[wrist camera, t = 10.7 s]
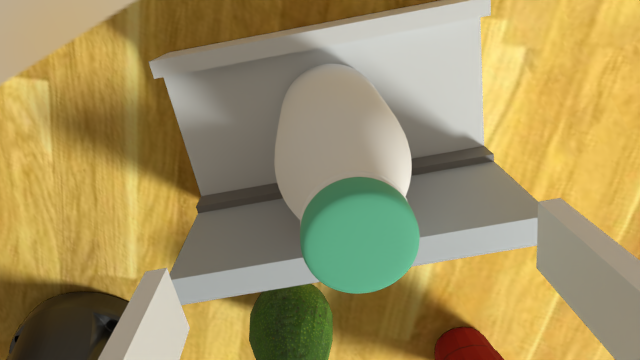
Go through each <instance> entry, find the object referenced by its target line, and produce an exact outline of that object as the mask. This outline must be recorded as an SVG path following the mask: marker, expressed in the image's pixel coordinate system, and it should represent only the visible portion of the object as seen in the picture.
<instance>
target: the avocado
mask: <svg viewBox="0 0 640 360" xmlns="http://www.w3.org/2000/svg"><path fill="white" fill-rule="evenodd" d="M332 332H333V315H332V312H331V309H330V306H329V304H328V302H327V300H326V298H325V296H324V295H323V293H322V292H321V291H320V290H319V289H318V288H316V287H315V286H314V285H312V284H304V285H298V286H292V287H286V288H280V289H274V290H268V291H263V292H262V293H261V295H260V296H259V298H258V299H257V301H256V302H255V304H254V307H253V309H252V311H251V314H250V333H249V341H250V344H251V347H252V350H253V353H254V356H255V358H256V360H328V358H329V353H330V349H331V345H332Z"/></svg>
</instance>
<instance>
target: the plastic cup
mask: <svg viewBox="0 0 640 360" xmlns="http://www.w3.org/2000/svg"><path fill="white" fill-rule="evenodd" d="M435 359H436V360H504V359H503V358H502V356H501V355H500V354H499V353H498V352H497V351H496V350H495V349H494V348H493V347H492V346H491V344H490V343H489V342H488V340H487V339H486V338H485V337H484V335H482V334H481V333H480V332H479V331H477V330H475V329H473V328H467V327H460V328H455V329H451V330H450V331H448V332H446V333H444V334H443V335H442V336H441V337H440V338H439V339H438V341H437V343H436V346H435Z"/></svg>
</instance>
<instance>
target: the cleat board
mask: <svg viewBox="0 0 640 360" xmlns="http://www.w3.org/2000/svg"><path fill="white" fill-rule="evenodd" d="M489 15H491V2H490V0H440V1H435V2H429V3H424V4H419V5H414V6H409V7H403V8H398V9H393V10H388V11H382V12H377V13H372V14H367V15H362V16H356V17H351V18H346V19H341V20H335V21H330V22H325V23H320V24H315V25H309V26H304V27H299V28H294V29H288V30H283V31H278V32H273V33H268V34H262V35H257V36H252V37H247V38H241V39H236V40H231V41H226V42H221V43H215V44H210V45H205V46H200V47H194V48H189V49H184V50H179V51H174V52H168V53H166V54H164V55H162V56H160V57H158V58H156V59H154V60H152V61H149V65H150V68H151V71H152V74H153V77H154V79H156V78H162V77H164V81H165V84H166V87H167V90H168V93H169V96H170V99H171V103H172V106H173V109H174V112H175V115H176V118H177V121H178V124H179V128H180V131H181V134H182V137H183V140H184V143H185V146H186V149H187V153H188V156H189V159H190V162H191V165H192V168H193V171H194V175H195V178H196V181H197V184H198V187H199V190H200V193H201V198H200V200H199V202H198V204H197V206H196V208H197V211H198V215H197V217H196V219H195V221H194V223H193V225H192V228H191V230H190V232H189V234H188V236H187V238H186V240H185V243H184V245H183V247H182V249H181V251H180V253H179V255H178V257H177V260H176V262H175V264H174V266H173V268H172V270H171V272H170V274H169V275H170V278H171V280H172V283H173V285H174V288H175V291H176V293H177V296H178V299H179V301H180V304H181V305H185V304H191V303H197V302H203V301H209V300H215V299H221V298H227V297H233V296H239V295H244V294H250V293H256V292H262V291H268V290H274V289H280V288H286V287H292V286H298V285H304V284H310V283H316V282H320V281H319V280H318V279H317V278H316V277H315V276H314V275H313V274H312V273H311V271H310V270H309V268H308V267H307V265H306V263H305V261H304V259H303V256H302V252H301V246H300V219H299V218H298V217H297V216H296V215H295V214H294V213H293V212H292V211H291V209H290V208H289V207H288V205H287V204H286V202H285V200H284V199H283V196H282V194H281V192H280V190H279V187H278V184H277V179H276V174H275V166H274V158H275V144H276V137H277V130H278V124H279V118H280V113H281V108H282V103H283V100H284V97H285V94H286V92H287V90H288V88H289V87H290V85H291V84H292V83H293V81H294V80H295V79H296V78H297V77H298V76H299V75H301V74H302V73H303V72H305V71H307V70H308V69H310V68H313V67H315V66H319V65H323V64H341V65H345V66H348V67H351V68H353V69H355V70H357V71H358V72H360V73H361V74H363V75H364V76H365V77H366V78H367V79H368V80H369V81H370V82H371V83H372V85H373V86H374V87H375V89H376V90H377V91H378V93H379V94H380V95H381V97H382V98H383V99H384V101H385V102H386V104H387V105H388V107H389V108H390V110H391V111H392V113H393V114H394V115H395V117H396V118H397V120H398V122H399V124H400V126H401V128H402V129H403V131H404V133H405V136H406V138H407V141H408V145H409V149H410V153H411V163H412V171H411V180H410V184H409V188H408V191H407V194H406V196H405V197H406V199H407V201H408V203H409V205H410V207H411V209H412V210H413V213H414V215H415V218H416V220H417V223H418V227H419V234H420V239H419V249H418V253H417V256H416V258H415V260H414V262H413V264H412V266H417V265H423V264H429V263H435V262H441V261H447V260H453V259H459V258H465V257H471V256H477V255H483V254H489V253H495V252H501V251H507V250H513V249H519V248H525V247H530V246H536V245H537V226H538V201H537V200H536V199H535V198H533V197H532V196H531V195H530V194H529V193H528V192H527V191H526V190H525V189H524V188H522V187H521V186H520V185H519V184H518V183H517V182H516V181H515V180H514V179H513V178H512V177H510V176H509V175H508V174H507V173H506V172H505V171H504V170H503V169H502V168H501V167H499V166H498V165H497V164H496V163H495V162H494V154H493V153H492V152H490V151H489V150H488V149H487V148H486V147H485V146H484V130H483V95H482V61H481V27H480V17H484V16H489Z"/></svg>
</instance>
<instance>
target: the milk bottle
mask: <svg viewBox="0 0 640 360" xmlns="http://www.w3.org/2000/svg"><path fill="white" fill-rule="evenodd" d="M274 166H275V174H276V179H277V184H278V187H279V190H280V192H281V194H282V196H283V199H284V200H285V202H286V204H287V205H288V207H289V208H290V209H291V211H292V212H293V213H294V214H295V215H296V216H297V217H298V218H299V219H300V246H301V252H302V256H303V259H304V261H305V263H306V265H307V267H308V268H309V270H310V271H311V273H312V274H313V275H314V276H315V277H316V278H317V279H318V280H319V281H320V282H322V283H323V284H325V285H326V286H328V287H330V288H332V289H335V290H338V291H341V292H346V293H357V294H359V293H369V292H374V291H377V290H380V289H383V288H385V287H387V286H390V285H391V284H393V283H395V282H396V281H397V280H399V279H400V278H401V277H402V276H403V275H404V274H405V273H406V272H407V271H408V270H409V269H410V267H411V266H412V264H413V262H414V260H415V258H416V256H417V253H418V249H419V239H420V234H419V227H418V223H417V220H416V218H415V215H414V213H413V210H412V209H411V207H410V205H409V203H408V201H407V199H406V197H405V196H406V194H407V191H408V188H409V184H410V180H411V171H412V163H411V153H410V149H409V145H408V141H407V138H406V136H405V133H404V131H403V129H402V128H401V126H400V124H399V122H398V120H397V118H396V117H395V115H394V114H393V113H392V111H391V110H390V108H389V107H388V105H387V104H386V102H385V101H384V99H383V98H382V97H381V95H380V94H379V93H378V91H377V90H376V89H375V87H374V86H373V85H372V83H371V82H370V81H369V80H368V79H367V78H366V77H365V76H364V75H363V74H361V73H360V72H358V71H357V70H355V69H353V68H351V67H348V66H345V65H341V64H323V65H319V66H315V67H313V68H310V69H308V70H307V71H305V72H303V73H302V74H301V75H299V76H298V77H297V78H296V79H295V80H294V81H293V83H292V84H291V85H290V87H289V88H288V90H287V92H286V94H285V97H284V100H283V103H282V108H281V113H280V118H279V124H278V130H277V137H276V144H275V158H274Z"/></svg>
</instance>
